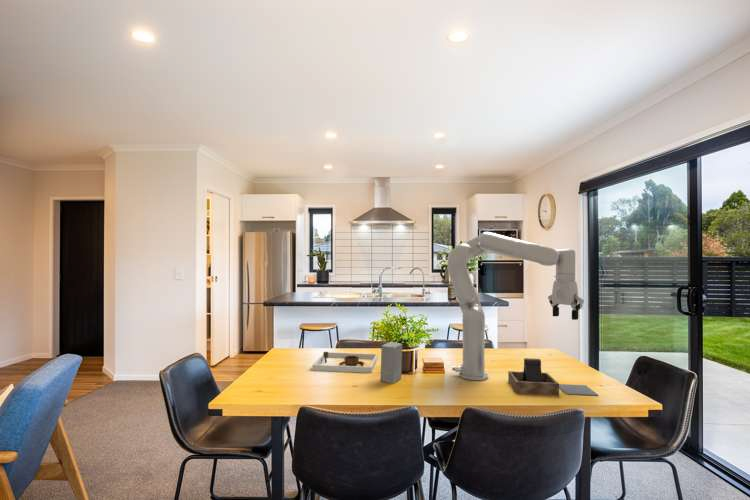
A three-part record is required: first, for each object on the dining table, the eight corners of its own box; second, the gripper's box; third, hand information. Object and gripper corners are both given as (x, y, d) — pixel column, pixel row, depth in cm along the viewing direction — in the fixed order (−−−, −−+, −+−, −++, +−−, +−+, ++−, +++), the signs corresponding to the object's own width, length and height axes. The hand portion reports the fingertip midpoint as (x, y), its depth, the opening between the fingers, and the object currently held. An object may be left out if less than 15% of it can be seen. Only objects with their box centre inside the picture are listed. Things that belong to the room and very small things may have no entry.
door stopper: (543, 392, 158) (543, 362, 158) (527, 391, 159) (527, 361, 159) (537, 385, 167) (537, 356, 167) (522, 384, 167) (522, 355, 168)
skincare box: (388, 376, 177) (389, 341, 177) (403, 379, 173) (403, 342, 174) (379, 381, 170) (379, 344, 170) (394, 384, 166) (394, 346, 166)
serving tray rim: (312, 370, 186) (312, 365, 186) (325, 356, 212) (325, 352, 212) (371, 372, 183) (371, 367, 183) (377, 358, 209) (377, 354, 209)
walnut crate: (516, 393, 156) (516, 381, 156) (508, 381, 171) (508, 371, 171) (559, 395, 154) (559, 383, 154) (547, 383, 169) (547, 372, 169)
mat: (565, 394, 155) (565, 393, 155) (555, 384, 167) (555, 383, 167) (598, 396, 154) (598, 394, 154) (585, 386, 166) (585, 385, 166)
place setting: (342, 373, 184) (342, 360, 184) (320, 364, 200) (320, 352, 200) (372, 367, 195) (372, 355, 195) (349, 358, 211) (349, 347, 211)
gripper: (542, 276, 177) (542, 315, 176) (576, 279, 161) (576, 321, 161) (555, 276, 180) (554, 314, 180) (589, 278, 164) (589, 320, 164)
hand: (565, 317), depth 170 cm, fingers open, 9 cm apart
